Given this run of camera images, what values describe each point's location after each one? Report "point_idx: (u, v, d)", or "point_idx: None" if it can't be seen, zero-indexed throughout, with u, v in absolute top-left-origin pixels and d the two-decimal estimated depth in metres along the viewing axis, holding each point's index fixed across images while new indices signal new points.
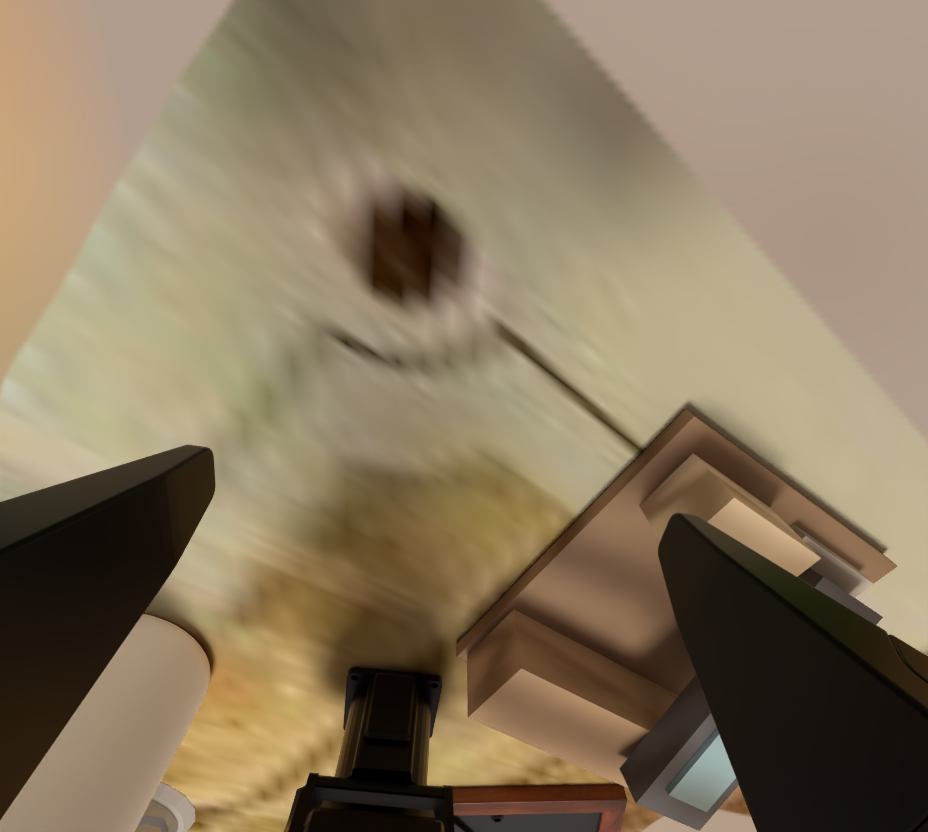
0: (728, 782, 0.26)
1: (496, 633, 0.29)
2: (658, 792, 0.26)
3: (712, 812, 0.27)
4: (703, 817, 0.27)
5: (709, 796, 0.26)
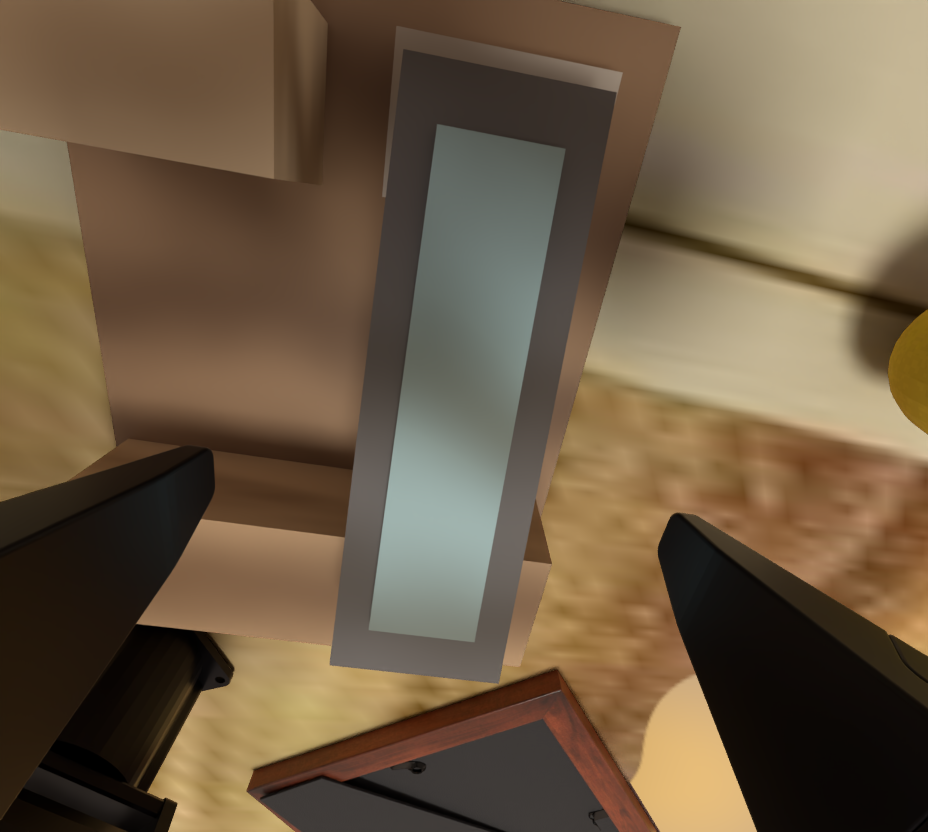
0: (480, 571, 0.13)
1: None
2: (360, 632, 0.13)
3: (502, 640, 0.14)
4: (489, 655, 0.14)
5: (458, 610, 0.13)
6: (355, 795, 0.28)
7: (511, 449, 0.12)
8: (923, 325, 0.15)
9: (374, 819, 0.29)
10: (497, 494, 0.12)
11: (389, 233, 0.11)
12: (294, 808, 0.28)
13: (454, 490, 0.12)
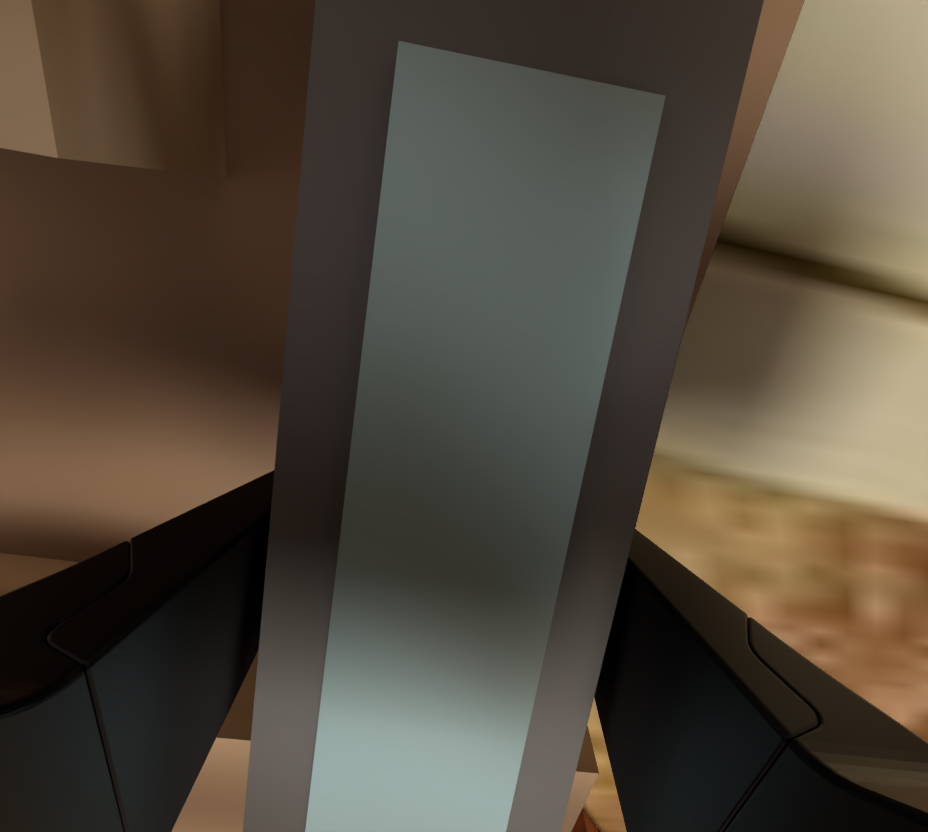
0: None
1: None
2: None
3: None
4: None
5: None
6: None
7: None
8: None
9: None
10: (518, 738, 0.07)
11: (308, 267, 0.06)
12: None
13: (439, 733, 0.07)
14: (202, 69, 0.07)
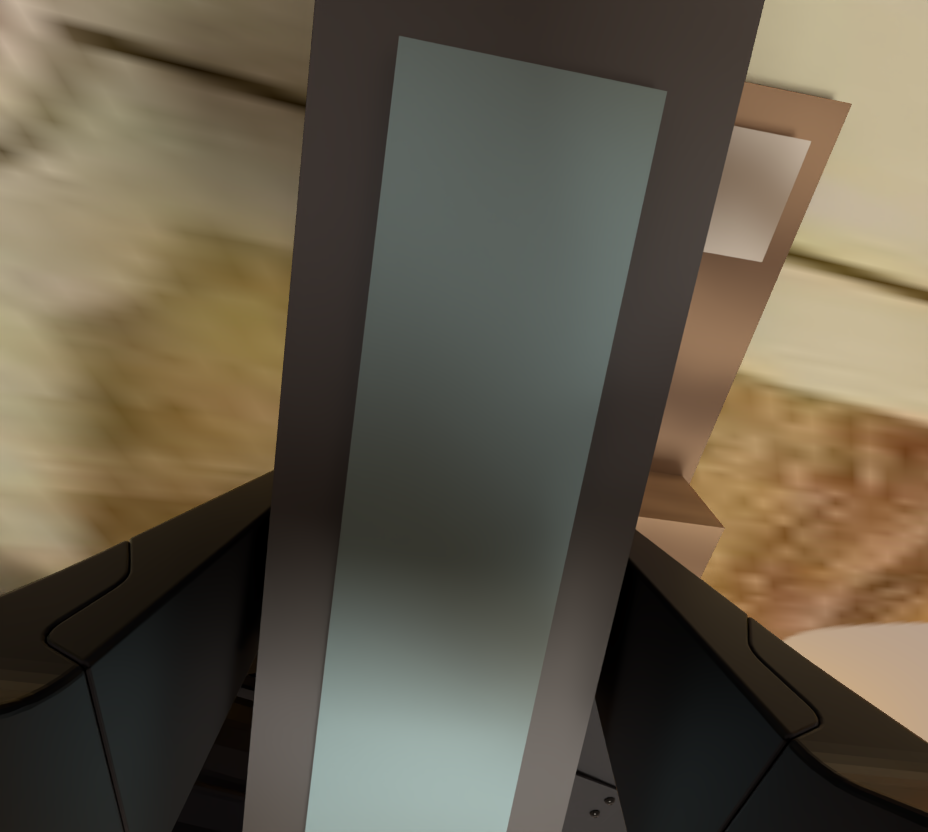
0: None
1: None
2: None
3: None
4: None
5: None
6: None
7: (544, 652, 0.07)
8: None
9: None
10: (519, 736, 0.07)
11: (308, 263, 0.06)
12: None
13: (440, 732, 0.07)
14: None
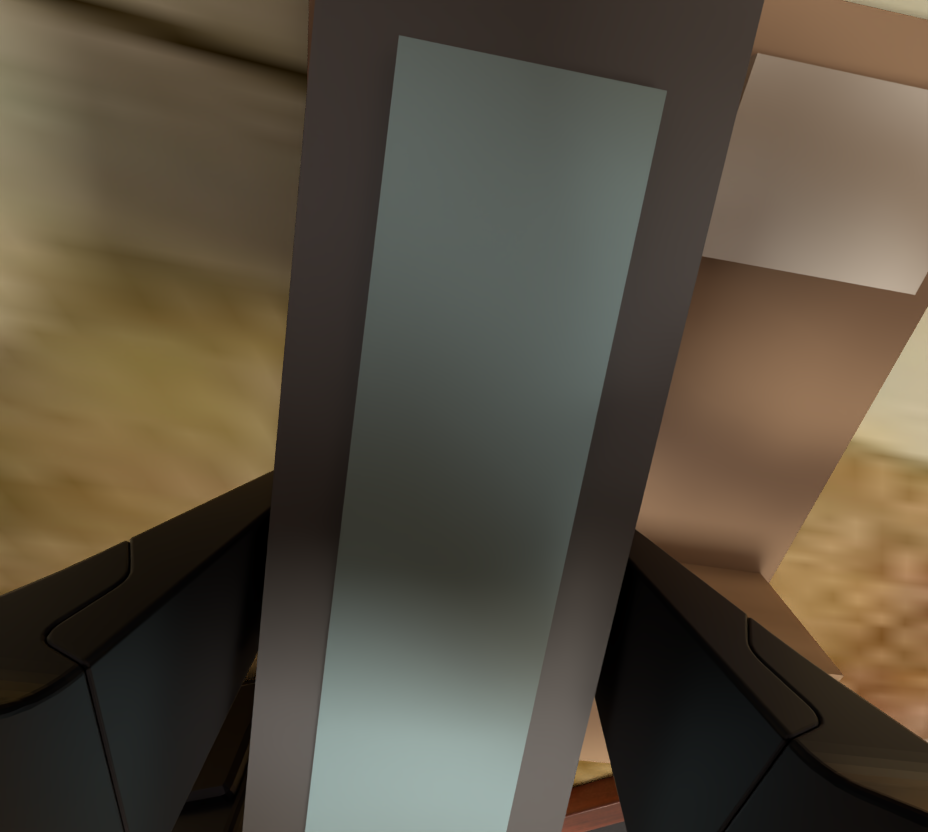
0: None
1: None
2: None
3: None
4: None
5: None
6: None
7: (544, 651, 0.07)
8: None
9: None
10: (519, 736, 0.07)
11: (308, 263, 0.06)
12: None
13: (440, 731, 0.07)
14: None
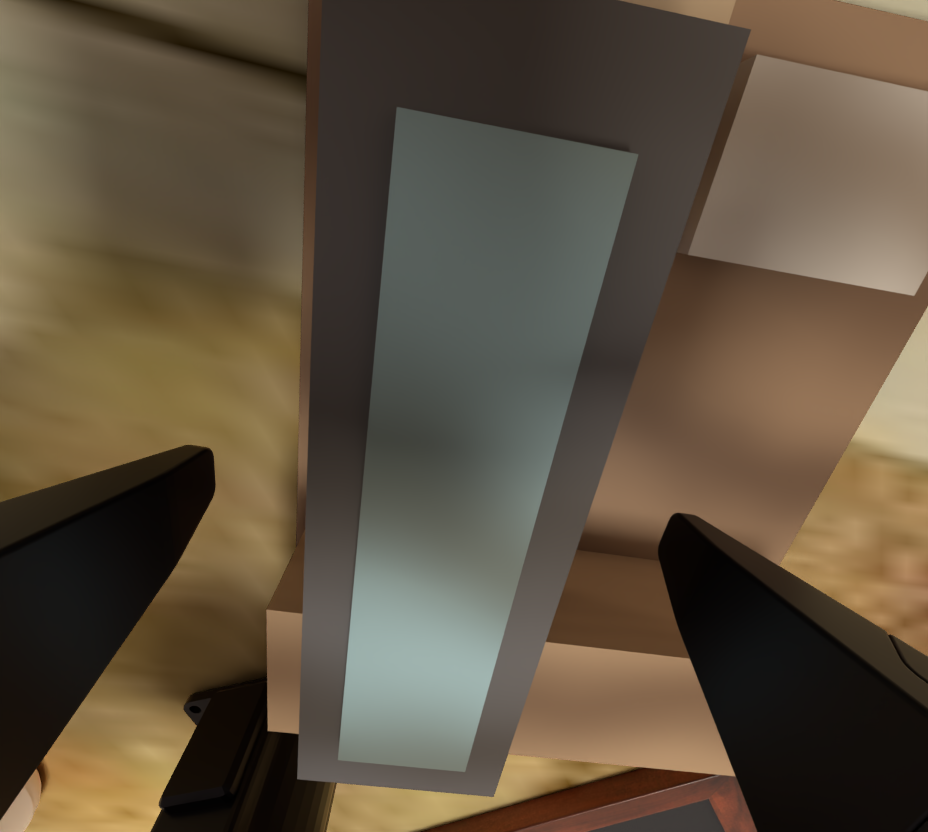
0: (472, 711, 0.10)
1: None
2: (329, 753, 0.11)
3: (499, 763, 0.11)
4: (483, 774, 0.12)
5: (446, 745, 0.11)
6: None
7: (517, 584, 0.09)
8: None
9: None
10: (496, 639, 0.09)
11: (326, 298, 0.07)
12: None
13: (438, 634, 0.09)
14: None
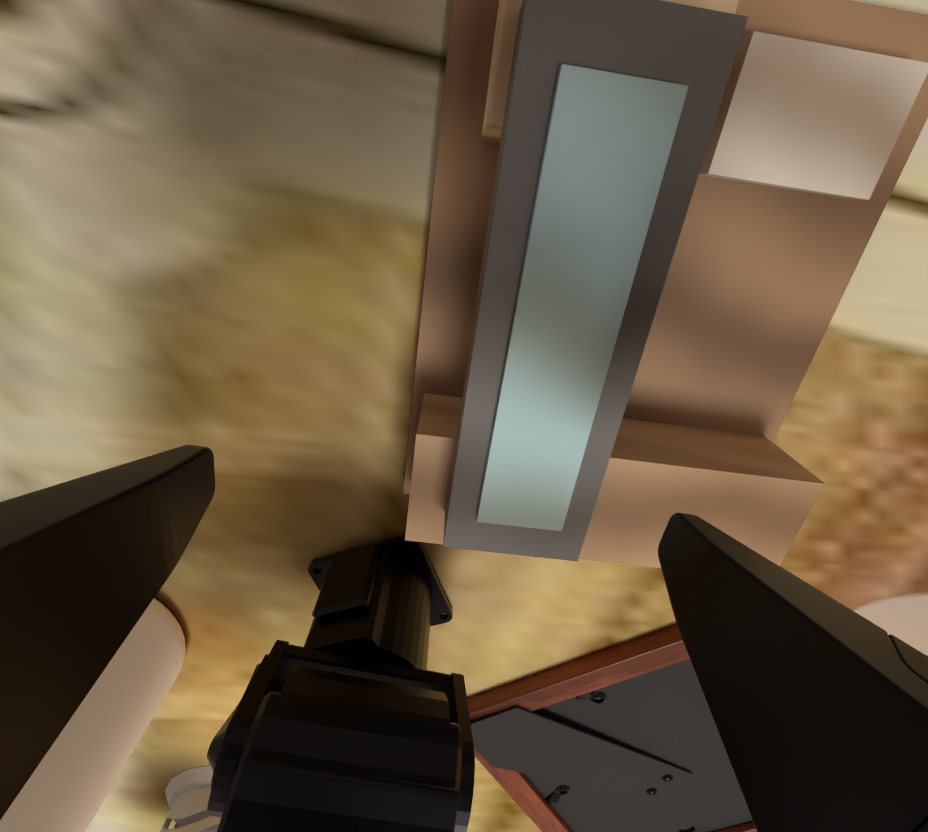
0: (571, 478, 0.15)
1: None
2: (468, 523, 0.16)
3: (583, 530, 0.17)
4: (571, 540, 0.17)
5: (550, 507, 0.16)
6: (542, 724, 0.31)
7: (605, 377, 0.14)
8: None
9: (553, 747, 0.32)
10: (591, 416, 0.14)
11: (507, 179, 0.12)
12: (486, 737, 0.31)
13: (554, 413, 0.14)
14: None
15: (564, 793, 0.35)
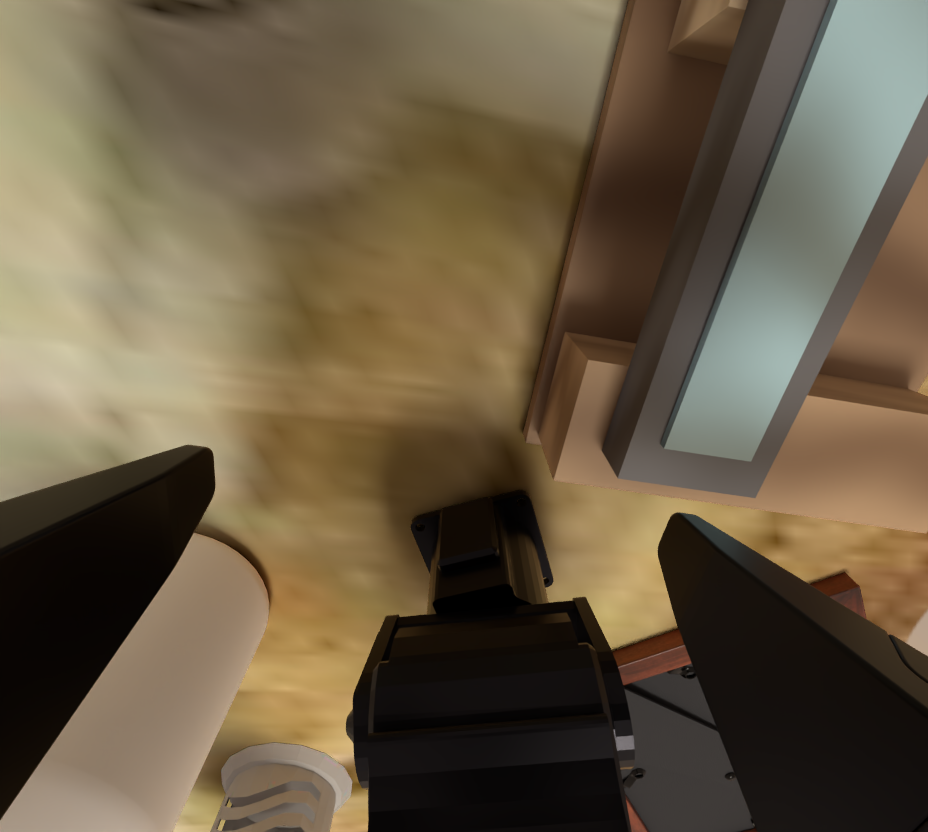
0: (774, 399, 0.14)
1: (556, 376, 0.20)
2: (649, 452, 0.15)
3: (769, 462, 0.16)
4: (754, 474, 0.16)
5: (745, 434, 0.15)
6: (631, 700, 0.30)
7: None
8: None
9: (638, 726, 0.31)
10: (811, 329, 0.13)
11: (776, 51, 0.11)
12: None
13: (773, 324, 0.13)
14: None
15: (639, 777, 0.34)
